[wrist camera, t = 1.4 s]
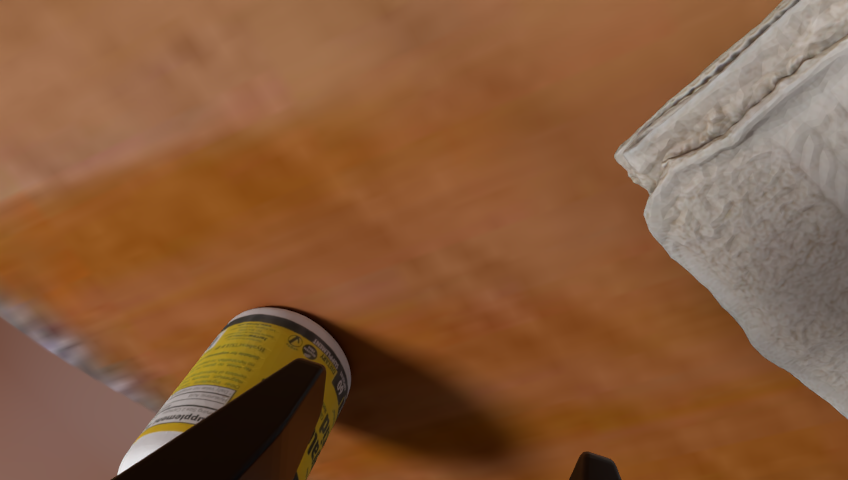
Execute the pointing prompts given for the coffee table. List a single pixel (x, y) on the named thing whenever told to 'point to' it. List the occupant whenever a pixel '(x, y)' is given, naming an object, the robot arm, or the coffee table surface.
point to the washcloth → (763, 187)
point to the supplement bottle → (250, 377)
